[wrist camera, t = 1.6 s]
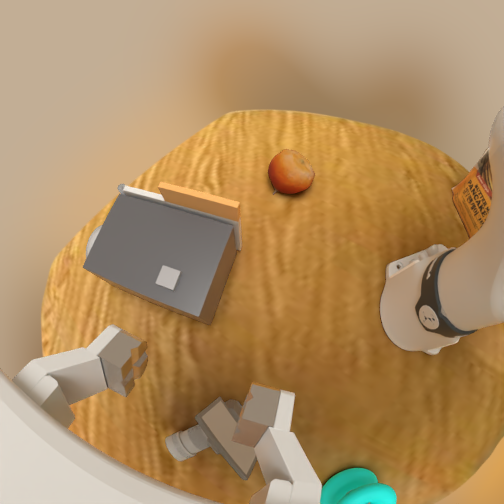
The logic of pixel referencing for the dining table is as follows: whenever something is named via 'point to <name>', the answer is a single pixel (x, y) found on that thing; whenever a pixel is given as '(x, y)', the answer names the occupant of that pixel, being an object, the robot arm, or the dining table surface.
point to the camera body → (163, 256)
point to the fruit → (290, 172)
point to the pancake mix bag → (475, 195)
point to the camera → (215, 437)
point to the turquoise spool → (356, 489)
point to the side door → (193, 204)
